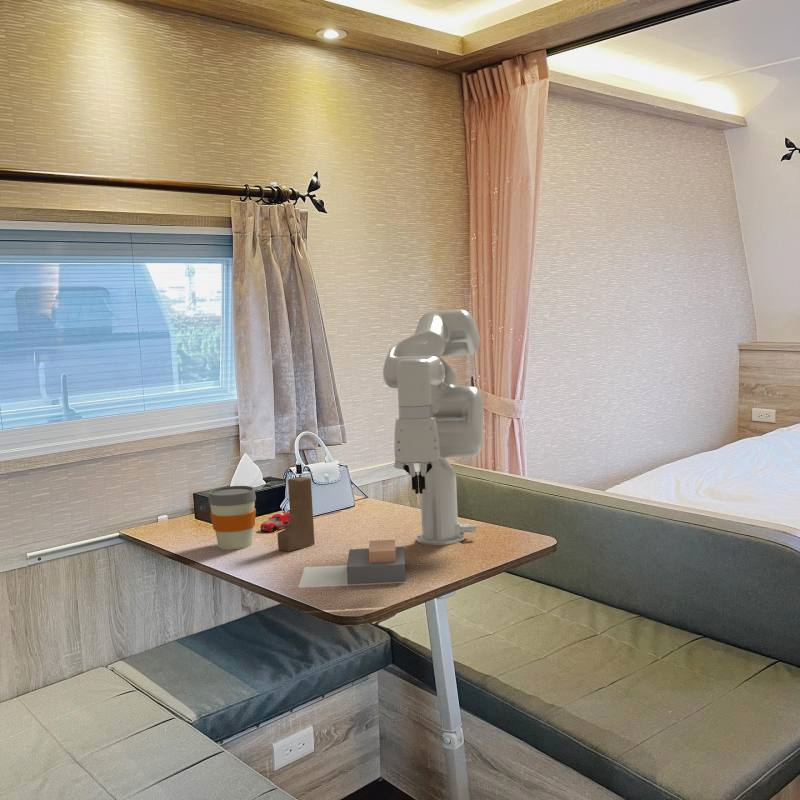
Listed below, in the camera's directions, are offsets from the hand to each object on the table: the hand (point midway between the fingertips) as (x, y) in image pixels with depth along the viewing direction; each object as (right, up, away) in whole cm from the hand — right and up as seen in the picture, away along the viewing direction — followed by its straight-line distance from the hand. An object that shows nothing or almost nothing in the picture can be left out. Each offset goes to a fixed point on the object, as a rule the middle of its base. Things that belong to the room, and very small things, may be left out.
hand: (418, 492), depth 188 cm
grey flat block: (-10, -19, +2) cm, 21 cm away
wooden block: (-32, -18, +29) cm, 46 cm away
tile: (-8, -14, +1) cm, 16 cm away
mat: (-15, -20, +2) cm, 25 cm away
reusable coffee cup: (-49, -18, +33) cm, 62 cm away
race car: (-39, -16, +50) cm, 66 cm away
